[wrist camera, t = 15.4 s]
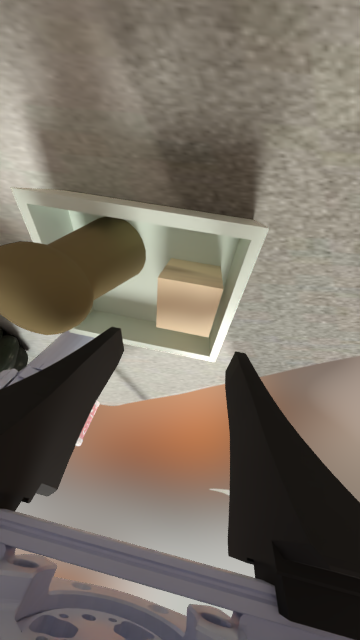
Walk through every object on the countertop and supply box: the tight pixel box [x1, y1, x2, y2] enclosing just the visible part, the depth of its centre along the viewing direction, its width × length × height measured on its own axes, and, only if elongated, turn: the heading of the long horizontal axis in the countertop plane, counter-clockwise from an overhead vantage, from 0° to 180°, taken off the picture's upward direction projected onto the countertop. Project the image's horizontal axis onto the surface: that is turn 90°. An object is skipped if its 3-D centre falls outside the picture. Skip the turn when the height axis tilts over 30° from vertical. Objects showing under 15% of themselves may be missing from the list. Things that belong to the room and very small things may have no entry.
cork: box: [0, 216, 146, 335], centre depth 12 cm, size 6×6×11 cm
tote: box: [10, 187, 269, 362], centre depth 17 cm, size 14×18×5 cm
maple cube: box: [156, 258, 223, 337], centre depth 16 cm, size 5×5×5 cm
